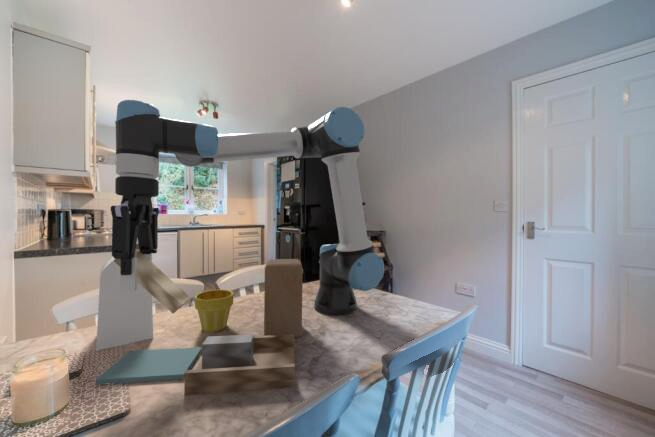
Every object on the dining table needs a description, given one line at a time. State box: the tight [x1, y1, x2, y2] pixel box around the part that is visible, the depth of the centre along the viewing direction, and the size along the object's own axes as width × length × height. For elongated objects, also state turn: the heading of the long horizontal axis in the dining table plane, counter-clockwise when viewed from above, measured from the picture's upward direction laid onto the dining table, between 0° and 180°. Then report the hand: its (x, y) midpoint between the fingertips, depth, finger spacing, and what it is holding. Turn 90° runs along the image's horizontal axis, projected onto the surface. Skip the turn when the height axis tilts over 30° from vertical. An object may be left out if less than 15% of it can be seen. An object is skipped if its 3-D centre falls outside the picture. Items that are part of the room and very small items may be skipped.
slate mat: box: [94, 346, 202, 386], centre depth 58 cm, size 16×11×1 cm
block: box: [263, 258, 304, 339], centre depth 76 cm, size 10×10×20 cm
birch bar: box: [114, 248, 191, 314], centre depth 58 cm, size 16×5×2 cm
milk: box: [95, 249, 154, 352], centre depth 72 cm, size 12×12×26 cm
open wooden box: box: [183, 334, 296, 396], centre depth 57 cm, size 20×14×7 cm
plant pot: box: [194, 288, 234, 333], centre depth 78 cm, size 10×10×10 cm
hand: (136, 286), depth 57 cm, fingers closed on birch bar, 5 cm apart
